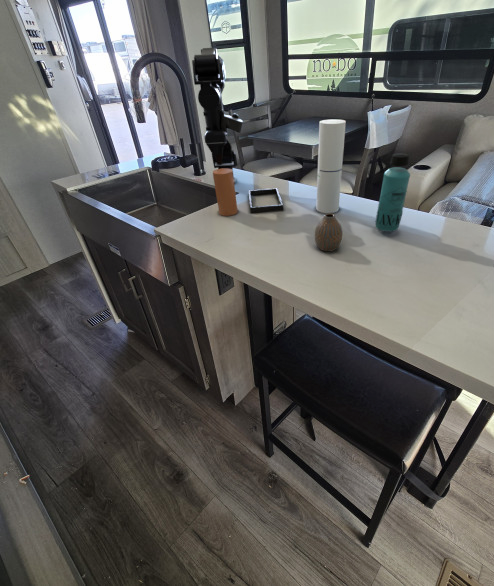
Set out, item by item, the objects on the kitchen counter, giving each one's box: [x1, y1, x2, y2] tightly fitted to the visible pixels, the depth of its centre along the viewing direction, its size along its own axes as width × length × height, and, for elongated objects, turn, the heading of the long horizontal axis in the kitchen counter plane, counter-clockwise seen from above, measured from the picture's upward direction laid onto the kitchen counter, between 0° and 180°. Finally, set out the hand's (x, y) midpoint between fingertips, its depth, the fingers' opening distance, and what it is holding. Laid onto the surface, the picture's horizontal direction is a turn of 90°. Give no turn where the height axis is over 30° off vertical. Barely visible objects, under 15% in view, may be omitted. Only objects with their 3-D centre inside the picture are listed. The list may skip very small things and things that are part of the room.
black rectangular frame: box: [247, 187, 284, 214], centre depth 106 cm, size 17×11×2 cm, turn 6°
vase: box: [314, 213, 343, 252], centre depth 77 cm, size 7×7×9 cm
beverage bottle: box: [374, 153, 411, 232], centre depth 80 cm, size 6×7×20 cm
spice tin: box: [212, 168, 239, 217], centre depth 97 cm, size 6×6×13 cm
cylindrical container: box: [315, 118, 346, 214], centre depth 93 cm, size 7×7×25 cm
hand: (220, 161), depth 103 cm, fingers open, 9 cm apart
